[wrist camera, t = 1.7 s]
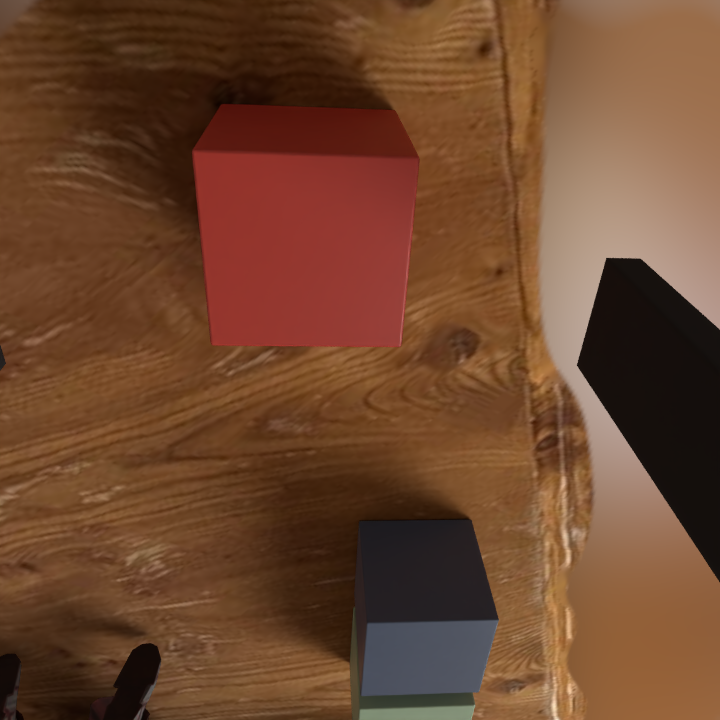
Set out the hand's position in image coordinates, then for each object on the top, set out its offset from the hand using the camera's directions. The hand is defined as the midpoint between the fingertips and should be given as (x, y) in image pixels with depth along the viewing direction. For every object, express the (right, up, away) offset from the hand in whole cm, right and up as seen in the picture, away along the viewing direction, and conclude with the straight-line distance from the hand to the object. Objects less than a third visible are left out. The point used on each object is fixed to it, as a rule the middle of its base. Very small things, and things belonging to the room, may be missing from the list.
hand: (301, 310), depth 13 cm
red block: (0, +4, +6) cm, 7 cm away
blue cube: (+4, -10, +15) cm, 19 cm away
